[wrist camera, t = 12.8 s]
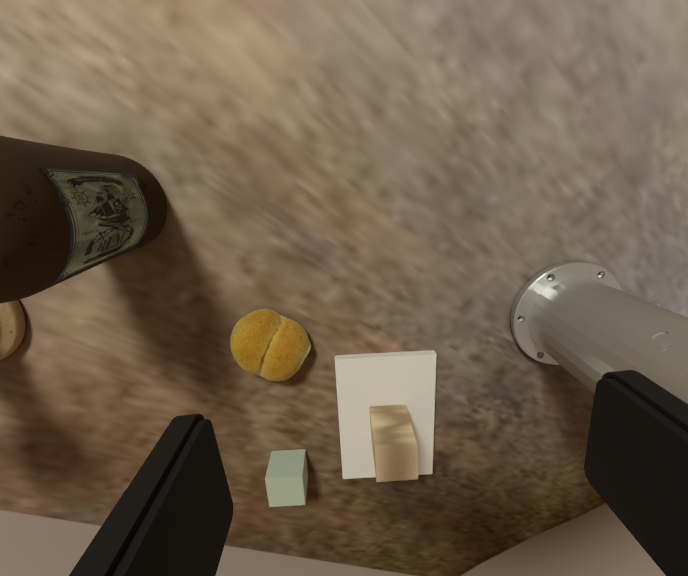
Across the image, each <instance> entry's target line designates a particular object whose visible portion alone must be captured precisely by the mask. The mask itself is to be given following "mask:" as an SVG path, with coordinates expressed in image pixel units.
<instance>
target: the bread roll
mask: <svg viewBox="0 0 688 576" xmlns="http://www.w3.org/2000/svg"><path fill="white" fill-rule="evenodd" d="M230 347H231V352H232V355H233V357H234V359H235V360H236V362H237V363H238V364H239V365H240V367H241V368H242V369H244V370H245V371H246V372H249V373H251V374H254V375H258V376H261V377H263V378H265V379H267V380H269V381H284V380H288V379H289V378H290V377H292V376H293V375H294V374H295V373H296V372H297V371H298V370H299V369H300V366H301V365H302V363H303V362H304V360H305V358H306V357H307V355H308V353H309V351H310V349H311V343H310V341H309V338H308V335H307V333H306V331H305V329H304V328H303V327H302V326H301V325H299V324H298V323H297V322H295V321H294V320H291V319H289V318H286V317H284V316H282V315H279V314H278V313H277V312H275V311H273V310H270V309H259V310H256V311H253V312H251V313H249V314H247V315H246V316H244V317H243V318H241V319H240V320H239V321H238V322H237V323H236V325H235V326H234V328H233V331H232V334H231V337H230Z"/></svg>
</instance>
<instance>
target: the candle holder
mask: <svg viewBox="0 0 688 576" xmlns="http://www.w3.org/2000/svg"><path fill="white" fill-rule="evenodd" d="M25 326H26V323H25V316H24V312H23V309H22V307H21V305H20V303H19V301H18V300H16V301H11V302H6V303H0V360H2V359H4V358H5V357H7V356H9V355H10V354H11V353H13V352H14V351H15V350H16V349H17V348H18V346H19V345H20V344H21V342H22V340H23V338H24V334H25Z"/></svg>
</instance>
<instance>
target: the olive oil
mask: <svg viewBox="0 0 688 576" xmlns="http://www.w3.org/2000/svg"><path fill="white" fill-rule="evenodd" d="M165 219H166V201H165V197H164V194H163V191H162V189H161V187H160V185H159V183H158V182H157V180H156V179H155V177H154V176H153V175H152V174H151V173H150V172H149V171H148V170H147V169H146V168H145V167H143V166H142V165H141V164H139V163H137V162H136V161H134V160H131V159H129V158H126V157H123V156H119V155H113V154H106V153H99V152H92V151H85V150H78V149H72V148H67V147H61V146H55V145H49V144H43V143H37V142H31V141H26V140H20V139H15V138H9V137H4V136H0V303H6V302H11V301H16V300H19V299H23V298H26V297H29V296H31V295H34V294H36V293H39V292H41V291H43V290H45V289H47V288H49V287H51V286H54V285H56V284H58V283H60V282H62V281H64V280H66V279H68V278H71V277H73V276H75V275H77V274H79V273H81V272H83V271H86V270H88V269H90V268H92V267H95V266H97V265H99V264H101V263H103V262H106V261H108V260H110V259H112V258H114V257H117V256H119V255H121V254H124V253H126V252H129V251H131V250H134V249H136V248H138V247H141V246H143V245H145V244H147V243H149V242H150V241H152V240H153V239H154V238H155V237H156V236H157V235H158V234H159V233H160V231H161V230H162V228H163V225H164V223H165Z"/></svg>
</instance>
